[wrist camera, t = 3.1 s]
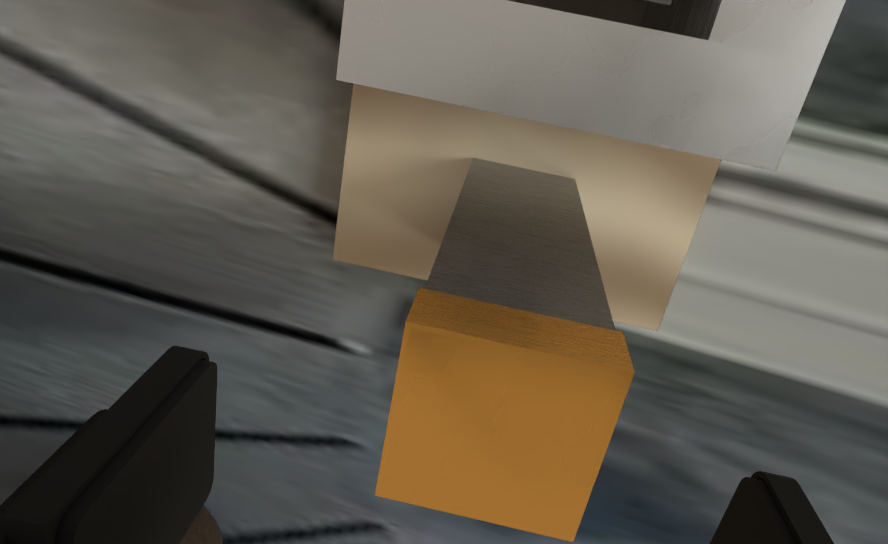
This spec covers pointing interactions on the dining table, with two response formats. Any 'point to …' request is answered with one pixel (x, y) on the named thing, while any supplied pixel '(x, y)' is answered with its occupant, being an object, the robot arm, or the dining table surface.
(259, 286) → the dining table surface
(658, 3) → the plunger
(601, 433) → the grey square peg
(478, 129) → the base board
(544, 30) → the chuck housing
